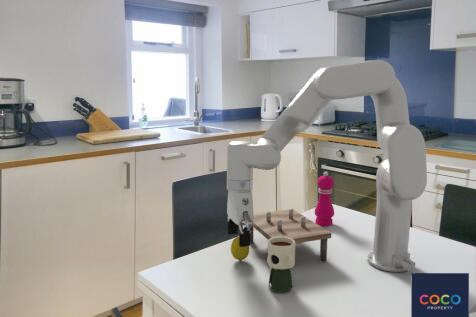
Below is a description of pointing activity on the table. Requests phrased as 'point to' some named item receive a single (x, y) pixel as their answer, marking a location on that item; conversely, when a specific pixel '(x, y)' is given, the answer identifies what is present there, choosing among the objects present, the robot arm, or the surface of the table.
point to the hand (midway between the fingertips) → (238, 239)
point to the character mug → (281, 262)
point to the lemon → (239, 250)
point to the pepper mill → (324, 201)
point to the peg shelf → (290, 228)
